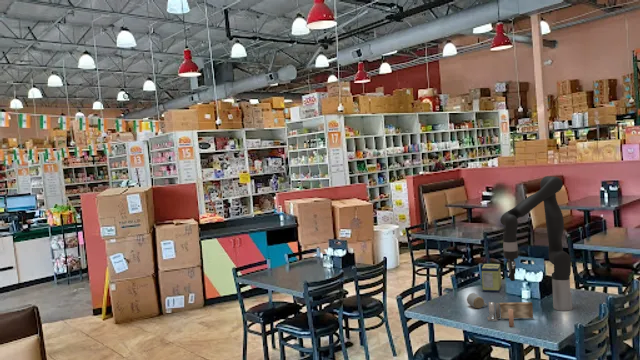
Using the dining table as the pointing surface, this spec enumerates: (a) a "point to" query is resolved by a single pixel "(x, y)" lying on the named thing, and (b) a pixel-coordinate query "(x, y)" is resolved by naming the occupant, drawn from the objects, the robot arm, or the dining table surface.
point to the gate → (515, 309)
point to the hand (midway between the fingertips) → (512, 280)
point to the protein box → (491, 277)
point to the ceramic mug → (475, 300)
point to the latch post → (511, 318)
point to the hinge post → (492, 312)
